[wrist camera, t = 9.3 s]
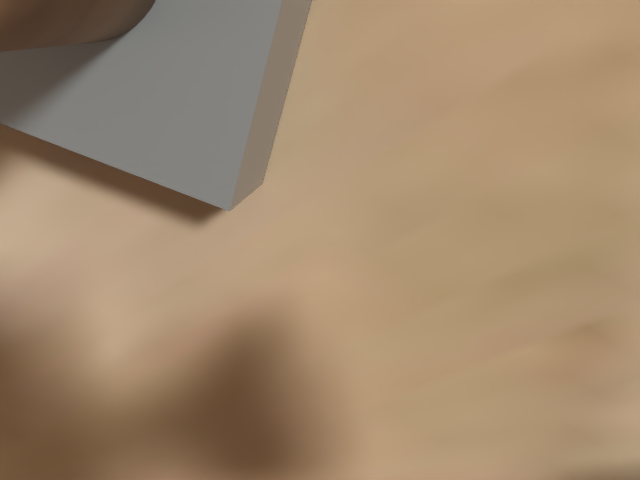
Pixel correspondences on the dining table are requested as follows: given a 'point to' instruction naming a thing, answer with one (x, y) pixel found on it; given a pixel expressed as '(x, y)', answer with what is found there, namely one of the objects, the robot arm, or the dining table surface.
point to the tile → (167, 94)
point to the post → (66, 21)
